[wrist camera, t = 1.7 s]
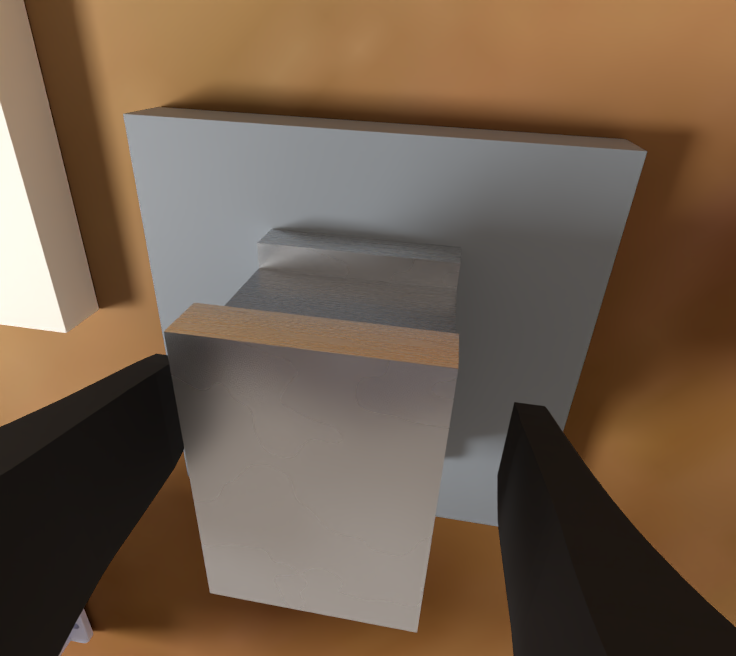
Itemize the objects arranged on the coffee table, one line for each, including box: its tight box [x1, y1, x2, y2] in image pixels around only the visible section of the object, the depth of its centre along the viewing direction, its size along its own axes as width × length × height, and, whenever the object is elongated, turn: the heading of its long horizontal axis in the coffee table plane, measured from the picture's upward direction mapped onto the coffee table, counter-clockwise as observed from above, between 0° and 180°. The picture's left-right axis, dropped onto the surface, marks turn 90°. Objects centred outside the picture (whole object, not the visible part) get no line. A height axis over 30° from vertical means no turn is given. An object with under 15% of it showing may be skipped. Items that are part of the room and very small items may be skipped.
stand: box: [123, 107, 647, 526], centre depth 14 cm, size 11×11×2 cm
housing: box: [164, 229, 461, 633], centre depth 11 cm, size 6×4×5 cm
